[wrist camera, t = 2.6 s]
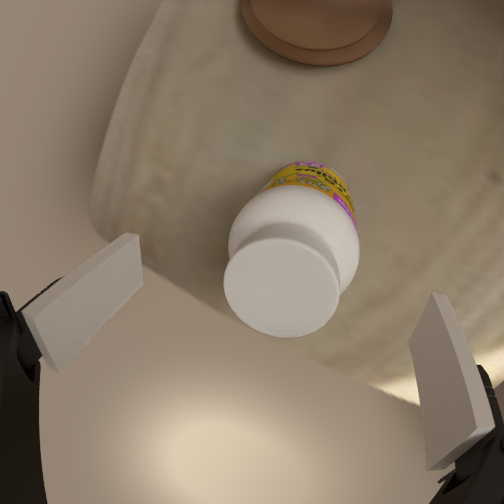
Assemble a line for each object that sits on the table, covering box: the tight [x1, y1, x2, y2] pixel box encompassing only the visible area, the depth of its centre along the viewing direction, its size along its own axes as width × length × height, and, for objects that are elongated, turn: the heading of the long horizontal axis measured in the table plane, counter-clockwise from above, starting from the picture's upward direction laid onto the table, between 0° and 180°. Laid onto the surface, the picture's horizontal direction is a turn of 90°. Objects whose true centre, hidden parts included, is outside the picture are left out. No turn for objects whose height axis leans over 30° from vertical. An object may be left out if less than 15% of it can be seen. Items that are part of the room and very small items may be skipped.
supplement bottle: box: [223, 161, 360, 338], centre depth 17 cm, size 7×7×13 cm
